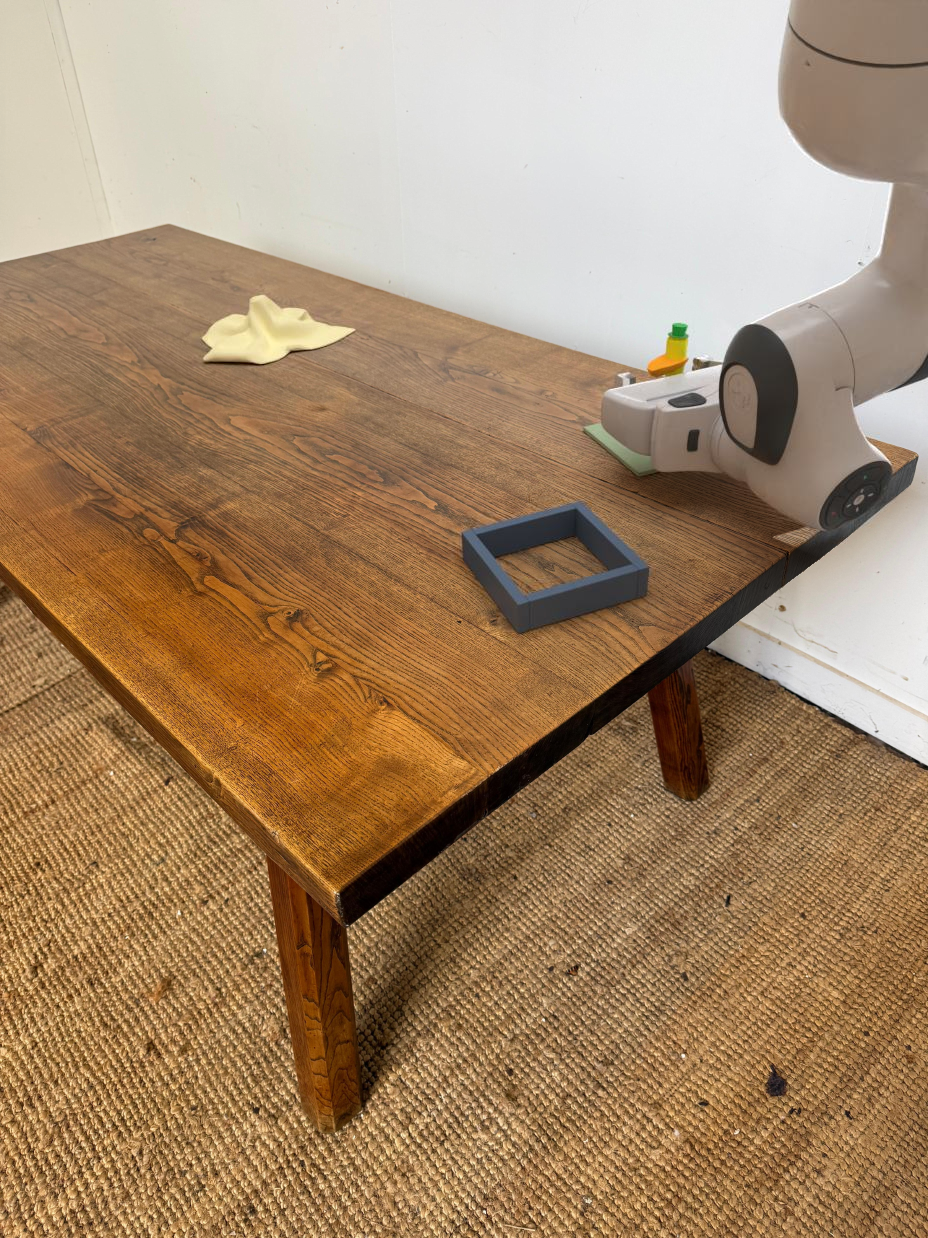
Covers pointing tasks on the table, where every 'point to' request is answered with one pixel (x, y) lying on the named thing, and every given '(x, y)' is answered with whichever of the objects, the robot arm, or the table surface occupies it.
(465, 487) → the table surface
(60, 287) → the table surface
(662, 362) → the toy figure
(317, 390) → the table surface
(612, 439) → the felt mat
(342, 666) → the table surface
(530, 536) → the open square frame
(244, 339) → the cloth
